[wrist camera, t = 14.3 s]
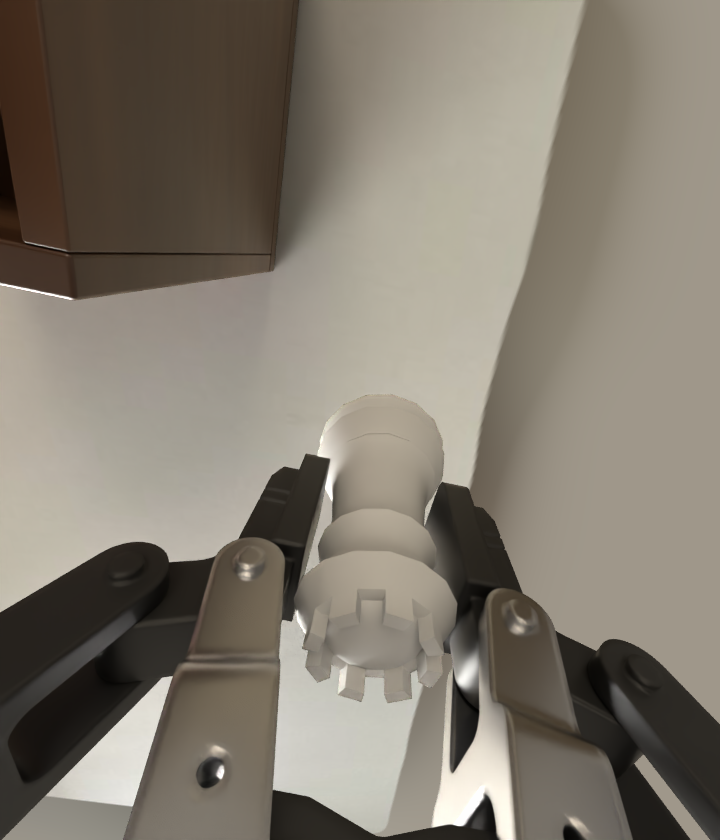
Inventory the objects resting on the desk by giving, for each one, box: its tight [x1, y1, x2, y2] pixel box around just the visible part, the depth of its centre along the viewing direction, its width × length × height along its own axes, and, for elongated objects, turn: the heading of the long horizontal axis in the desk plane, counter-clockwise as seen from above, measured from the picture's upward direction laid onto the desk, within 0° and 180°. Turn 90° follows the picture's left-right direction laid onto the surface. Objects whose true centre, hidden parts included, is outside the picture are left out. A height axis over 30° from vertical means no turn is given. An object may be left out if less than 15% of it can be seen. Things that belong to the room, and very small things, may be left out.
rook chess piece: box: [294, 395, 457, 703], centre depth 10 cm, size 4×4×8 cm
